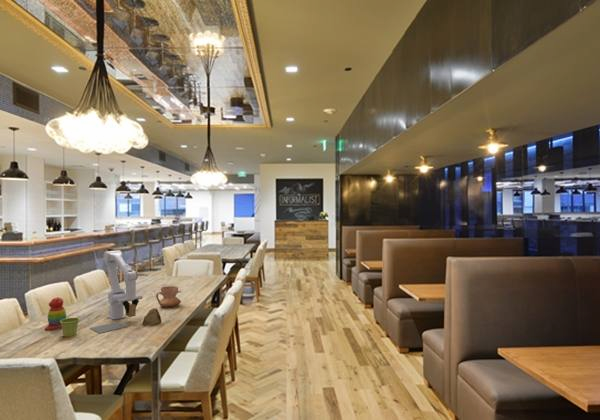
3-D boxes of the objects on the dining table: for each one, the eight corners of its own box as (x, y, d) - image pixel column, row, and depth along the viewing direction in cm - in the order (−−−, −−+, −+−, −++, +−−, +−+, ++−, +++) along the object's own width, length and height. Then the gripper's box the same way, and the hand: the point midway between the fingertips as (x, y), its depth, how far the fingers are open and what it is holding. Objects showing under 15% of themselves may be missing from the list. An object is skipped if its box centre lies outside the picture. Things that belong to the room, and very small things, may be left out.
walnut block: (125, 315, 235) (125, 303, 234) (131, 313, 237) (131, 302, 237) (130, 317, 231) (130, 305, 231) (135, 315, 233) (135, 304, 233)
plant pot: (75, 331, 215) (75, 316, 215) (82, 334, 209) (82, 319, 209) (57, 335, 208) (57, 320, 208) (63, 339, 202) (63, 323, 202)
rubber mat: (89, 328, 220) (89, 327, 220) (117, 322, 233) (117, 321, 233) (99, 333, 211) (99, 332, 211) (127, 326, 224) (127, 326, 224)
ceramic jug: (183, 303, 280) (183, 284, 280) (179, 308, 266) (179, 288, 266) (158, 304, 278) (158, 285, 278) (153, 309, 263) (153, 289, 264)
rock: (137, 322, 225) (153, 320, 224) (141, 309, 230) (156, 307, 229) (146, 328, 233) (161, 327, 232) (149, 315, 239) (164, 314, 238)
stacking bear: (48, 325, 226) (49, 296, 226) (68, 323, 229) (68, 295, 229) (43, 331, 216) (43, 300, 216) (63, 329, 219) (63, 299, 219)
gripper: (121, 293, 226) (121, 315, 226) (144, 289, 237) (144, 310, 237) (116, 291, 230) (116, 313, 230) (139, 288, 242) (139, 309, 242)
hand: (130, 312), depth 234 cm, fingers closed on walnut block, 3 cm apart
